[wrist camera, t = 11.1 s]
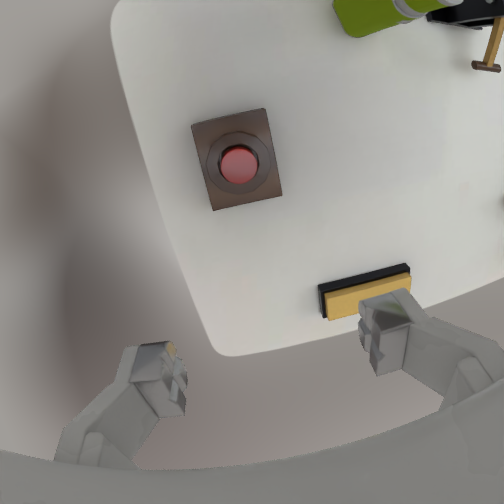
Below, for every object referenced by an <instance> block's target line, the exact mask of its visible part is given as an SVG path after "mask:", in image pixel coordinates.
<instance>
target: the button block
mask: <svg viewBox="0 0 504 504" xmlns="http://www.w3.org/2000/svg"><path fill="white" fill-rule="evenodd" d="M191 129H192V133H193V137H194V141H195V144H196V148H197V152H198V156H199V160H200V164H201V168H202V171H203V175H204V179H205V183H206V186H207V190H208V194H209V198H210V201H211V205H212V209H213V211H216V210H220V209H224V208H229V207H233V206H237V205H242V204H246V203H251V202H255V201H260V200H265V199H269V198H274V197H279V196H282V190H281V184H280V179H279V174H278V169H277V163H276V158H275V153H274V148H273V143H272V138H271V133H270V128H269V124H268V119H267V114H266V109H264V108H261V109H256V110H251V111H246V112H241V113H237V114H232V115H228V116H223V117H219V118H215V119H211V120H207V121H203V122H199V123H195V124H192V125H191ZM237 146H240V147H245V148H247V149H249V150H250V151H251V152H252V153H253V154H254V156H255V158H256V161H257V172H256V174H255V176H254V177H253V178H252V179H251V180H250V181H248V182H246V183H243V184H234V183H231V182H229V181H228V180H227V179H225V177H224V176H223V174H222V172H221V159H222V157H223V155H224V153H225V152H226V151H227V150H229V149H230V148H233V147H237Z"/></svg>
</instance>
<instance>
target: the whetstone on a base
mask: <svg viewBox="0 0 504 504" xmlns="http://www.w3.org/2000/svg"><path fill="white" fill-rule="evenodd" d="M403 287H404V288H406V289H407V290H408V291H409V293H410V287H411V276H410V267H409V266H408V265H407V264H406V263H403V264H400V265H396V266H392V267H388V268H384V269H381V270H377V271H373V272H369V273H365V274H361V275H357V276H353V277H349V278H345V279H341V280H337V281H333V282H329V283H324V284H320V285H318V292H319V301H320V311H321V314H322V317H323V318H328V320H329V321H331V320H335V319H339V318H342V317H346V316H350V315H354V314H357V313H359V312H358V304H359V301H360V300H363V299H367V298H371V297H374V296H378V295H381V294H385V293H389V292H390V291H393V290H397V289H400V288H403Z"/></svg>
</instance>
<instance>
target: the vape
mask: <svg viewBox="0 0 504 504" xmlns="http://www.w3.org/2000/svg"><path fill="white" fill-rule="evenodd" d="M462 2H463V0H334V1H333V8H334V10H335V12H336V14H337V16H338V18H339V20H340V23H341V25H342V27H343V29H344V31H345V33H346V34H348V35H349V36H352V37H363V36H366V35H369V34H372V33H374V32H377V31H380V30H383V29H386V28H389V27H392V26H395V25H398V24H406V23H409V22H411V21H413V20H415V19H417V18H421V17H423V16H425V15H426V14H427V13H428V12H429V11H433V10H437V9H440V8H444V7H448V6H454V5H458V4H461V3H462Z"/></svg>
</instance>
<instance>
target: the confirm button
mask: <svg viewBox="0 0 504 504" xmlns="http://www.w3.org/2000/svg"><path fill="white" fill-rule="evenodd" d="M221 172H222V174H223V176H224V177H225V179H227V180H228V181H229V182H231V183H234V184H243V183H246V182H248V181H250V180H251V179H252V178H253V177H254V176H255V174H256V172H257V161H256V158H255V156H254V154H253V153H252V152H251V151H250V150H249V149H247V148H245V147H240V146H237V147H233V148H230V149H229V150H227V151H226V152H225V153H224V155H223V157H222V159H221Z"/></svg>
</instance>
